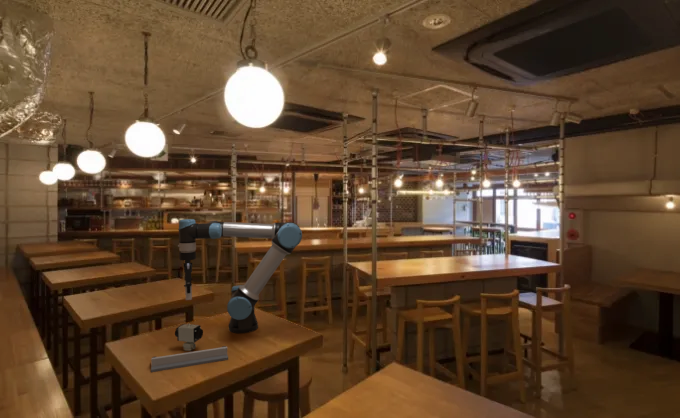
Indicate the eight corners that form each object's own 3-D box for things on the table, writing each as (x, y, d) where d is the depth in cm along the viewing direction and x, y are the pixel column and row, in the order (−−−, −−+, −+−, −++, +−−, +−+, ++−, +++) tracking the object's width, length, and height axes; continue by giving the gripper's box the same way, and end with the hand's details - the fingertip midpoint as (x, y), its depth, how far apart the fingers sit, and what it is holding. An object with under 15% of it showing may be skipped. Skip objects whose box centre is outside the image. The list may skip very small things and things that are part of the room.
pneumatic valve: (198, 352, 172) (197, 326, 172) (174, 350, 175) (174, 324, 174) (204, 347, 178) (204, 322, 177) (182, 345, 180) (181, 320, 180)
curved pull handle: (225, 351, 174) (225, 342, 174) (228, 359, 165) (228, 350, 165) (152, 362, 162) (152, 353, 162) (150, 372, 154) (150, 362, 153)
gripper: (179, 248, 194) (180, 292, 194) (179, 255, 173) (180, 303, 174) (194, 247, 197) (195, 290, 197) (196, 254, 176) (197, 302, 177)
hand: (188, 296), depth 186 cm, fingers open, 10 cm apart
